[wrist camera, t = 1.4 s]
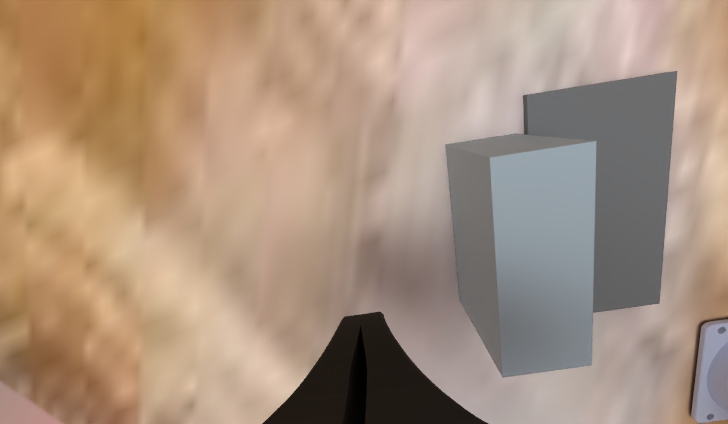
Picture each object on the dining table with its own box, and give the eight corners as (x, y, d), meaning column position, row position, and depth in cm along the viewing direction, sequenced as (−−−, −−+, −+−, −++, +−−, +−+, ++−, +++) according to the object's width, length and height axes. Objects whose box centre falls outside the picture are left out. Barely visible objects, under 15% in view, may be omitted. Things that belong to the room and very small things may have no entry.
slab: (514, 133, 20) (596, 140, 13) (520, 290, 22) (591, 365, 15) (445, 144, 20) (489, 157, 13) (459, 299, 22) (502, 377, 16)
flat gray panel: (670, 72, 19) (677, 71, 18) (654, 300, 22) (659, 303, 22) (523, 95, 19) (526, 95, 19) (530, 317, 23) (533, 321, 22)
